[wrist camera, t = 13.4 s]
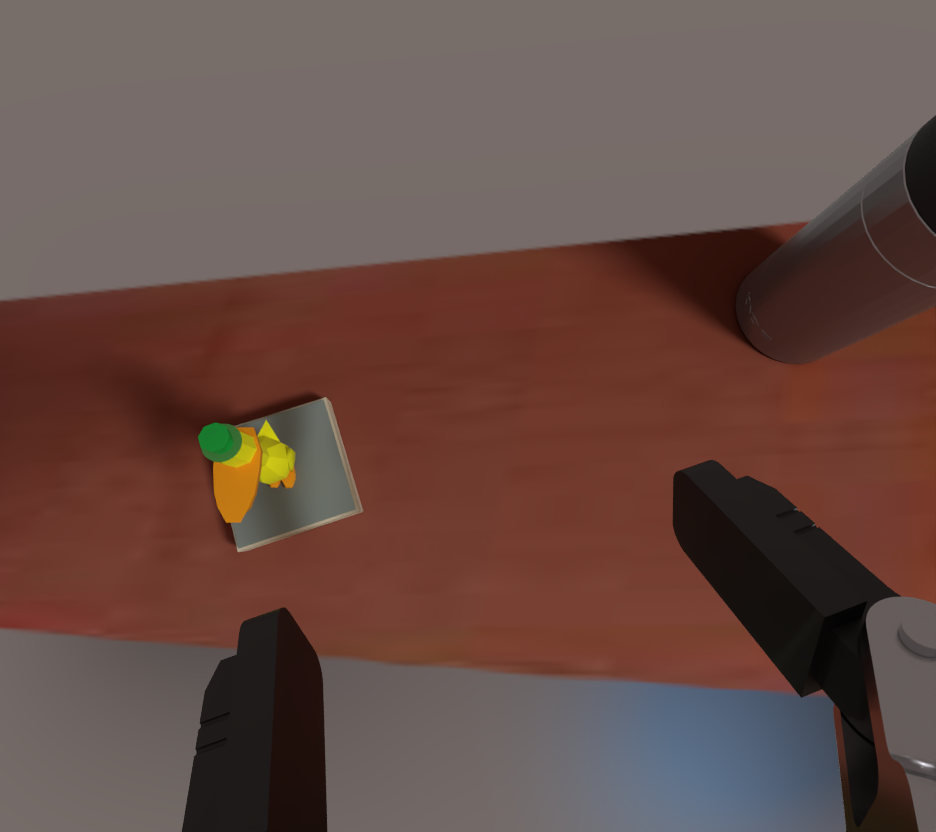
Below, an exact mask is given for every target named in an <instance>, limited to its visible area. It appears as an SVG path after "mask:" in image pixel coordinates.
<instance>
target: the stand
mask: <svg viewBox="0 0 936 832" xmlns="http://www.w3.org/2000/svg"><path fill="white" fill-rule="evenodd" d="M266 420H267V422H268V423H269V425H270V427H271V428H272V430H273V431H274V433H275V435H276V436H277V438H278V439H279V441H280V442H281V443H283V444H285V445H287V446H289V448H291V449H292V450H293V451H294V452H295V463H294V468H295V473H296V480H295V483H294V485H293V487H292V488H285V486H284V483H283V482H282V480H281V482H280V484H279V486H278V488H270V485H269V484H266V483H262V482H260V481H259V485H258V490H257V494H256V497H255V499H254V502H253V505H252V507H251V509H250V510H249V511H248V512H247V513H246V514H245V515H244V517H243V519H242V521H241V522H240V523H231V526H232V530H233V534H234V538H235V542H236V546H237V550H238V552H242V551H248V550H251V549H254V548H257V547H260V546H263V545H266V544H269V543H272V542H275V541H278V540H281V539H284V538H287V537H289V536H292V535H295V534H298V533H301V532H304V531H307V530H310V529H313V528H316V527H319V526H322V525H325V524H328V523H331V522H334V521H337V520H340V519H343V518H346V517H349V516H352V515H355V514H358V513H361V512H363V509H362V506H361V502H360V499H359V496H358V492H357V489H356V486H355V482H354V479H353V475H352V472H351V469H350V465H349V462H348V459H347V455H346V452H345V448H344V445H343V442H342V438H341V435H340V432H339V428H338V425H337V421H336V418H335V415H334V411H333V408H332V405H331V402H330V401H329V400H328V399H327V398H326V397H325V398H322V399H319V400H316V401H312V402H309V403H306V404H303V405H300V406H297V407H293V408H290V409H287V410H284V411H281V412H277V413H274V414H271V415H268V416H265V417H261V418H258V419H255V420H252V421H249V422H245V423H242V424H239V425H236V426H234V427H254V428H255V431H256V434H257V436H258V434H259V432H260V430H261V429H262V427H263V425H264V423H265V421H266Z"/></svg>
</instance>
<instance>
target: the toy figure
mask: <svg viewBox="0 0 936 832" xmlns="http://www.w3.org/2000/svg"><path fill="white" fill-rule="evenodd" d="M198 439H199V443H200V446H201V449H202V452H203V454H204V455H205V456H206V458H208V459H209V460H211V461H214V465H213V478H214V494H215V498H216V502H217V506H218V509H219V511H220V512H221V514H222V516H223V518H224V520H225V521H226V523H240V522H241V521H242V519H243V517H244V515H245V514H246V513H247V512H248V511H249V510H250V509H251V507H252V505H253V502H254V499H255V497H256V494H257V490H258V485H259V481H260V482H262V483H266V484H269V485H270V488H278V486H279V484H280V482H281V480H282V482H283V483H284V486H285V488H292V487H293V485H294V483H295V480H296V473H295V468H294V463H295V452H294V451H293V450H292V449H291V448H289V446H287V445H285V444H283V443H281V442H280V441H279V439H278V438H277V436H276V435H275V433H274V431H273V430H272V428H271V427H270V425H269V423H268V422H267V420H266V421H265V423H264V425H263V427H262V429H261V430H260V432H259V434H258V436H257V434H256V431H255V428H254V427H234V426H233V425H230V424H219V423H216V422H215V423H213V424H210V425H207V426H205V427H204V428H203V429H202V431H201V433H200V435H199V436H198Z"/></svg>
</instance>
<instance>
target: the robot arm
mask: <svg viewBox="0 0 936 832" xmlns="http://www.w3.org/2000/svg"><path fill="white" fill-rule="evenodd" d="M935 306H936V116H934V117H933V118H932V119H931V120H930V121H928V122H927V123H926V124H925V125H924V126H923V127H922V128H920V129H919V130H918V131H917V132H915V133H914V134H913V135H912V136H911V137H910V138H908V139H907V140H906V141H905V142H904V143H902V144H901V145H900V146H899V147H898V148H897V149H896V150H894V151H893V152H892V153H891V154H889V156H887V157H886V158H885V159H884V160H882V161H881V162H880V163H879V164H878V165H877V166H876V167H875V168H873V169H872V170H871V171H870V172H869V173H867V174H866V175H865V176H864V177H863V178H862V179H860V180H859V181H858V182H857V183H856V184H855V185H853V186H852V187H851V188H850V189H849V190H847V191H846V192H845V193H844V194H843V195H841V196H840V197H839V198H838V199H837V200H836V201H834V202H833V203H832V204H831V205H830V206H829V207H827V208H826V209H825V210H824V211H823V212H822V213H820V214H819V215H818V216H817V217H816V218H814V219H813V220H812V221H811V222H810V223H808V224H807V225H806V226H805V227H804V228H802V229H801V230H800V231H799V232H798V233H797V234H795V235H794V236H793V237H792V238H791V239H789V240H788V241H787V242H786V243H785V244H784V245H782V246H781V247H780V248H779V249H777V250H776V251H775V252H774V253H773V254H772V255H770V256H769V257H768V258H767V259H766V260H764V261H763V262H762V263H761V264H760V265H759V266H757V267H756V268H755V269H754V270H753V271H752V272H751V273H750V274H748V275H747V276H746V277H745V279H744V280H743V282H742V283H741V285H740V287H739V290H738V293H737V296H736V315H737V319H738V322H739V325H740V328H741V329H742V331H743V333H744V334H745V336H746V338H747V339H748V340H749V341H750V342H751V343H752V345H753V346H754V347H755V348H757V349H758V350H759V351H761V352H762V353H763V354H765V355H767V356H769V357H770V358H772V359H774V360H778V361H781V362H784V363H792V364H802V363H809V362H812V361H815V360H818V359H820V358H823V357H825V356H827V355H829V354H831V353H834V352H836V351H838V350H840V349H842V348H845V347H847V346H849V345H851V344H854V343H856V342H858V341H860V340H863V339H865V338H867V337H869V336H871V335H874V334H876V333H878V332H880V331H882V330H884V329H887V328H889V327H891V326H893V325H895V324H898V323H900V322H902V321H904V320H906V319H909V318H911V317H913V316H915V315H917V314H919V313H922V312H924V311H926V310H928V309H930V308H933V307H935ZM673 528H674V532H675V535H676V537H677V540H678V542H679V544H680V546H681V547H682V549H683V551H684V552H685V553H686V555H687V556H688V557H689V558H690V560H691V561H692V562H693V563H694V565H695V566H696V567H697V568H698V570H699V571H700V572H701V573H702V574H703V576H704V577H705V578H706V579H707V581H708V582H709V583H710V584H711V586H712V587H713V588H714V589H715V591H716V592H717V593H718V594H719V596H720V597H721V598H722V599H723V601H724V602H725V603H726V604H727V606H728V607H729V608H730V609H731V611H732V612H733V613H734V614H735V616H736V617H737V618H738V619H739V621H740V622H741V623H742V624H743V626H744V627H745V628H746V629H747V631H748V632H749V633H750V634H751V636H752V637H753V638H754V639H755V641H756V642H757V643H758V644H759V646H760V647H761V648H762V649H763V651H764V652H765V653H766V654H767V656H768V657H769V658H770V659H771V661H772V662H773V663H774V664H775V666H776V667H777V668H778V669H779V671H780V672H781V673H782V674H783V675H784V677H785V678H786V679H787V680H788V682H789V683H790V684H791V685H792V687H793V688H794V689H795V690H796V692H797V693H798V694H799V695H800V697H801V698H802V697H804V696H807V695H809V694H812V693H814V692H817V691H819V690H821V689H823V691H824V692H825V693H826V694H827V695H828V697H829V698H830V699H831V700H832V701H833V702H834V722H835V731H836V741H837V750H838V759H839V767H840V778H841V787H842V796H843V804H844V813H845V824H846V832H936V604H934V603H931V602H928V601H925V600H921V599H917V598H911V597H901V596H900V595H898V594H897V593H895V592H894V591H893V590H891V589H890V588H889V587H887V586H886V585H885V584H884V583H883V582H882V581H881V580H879V579H878V578H877V577H876V576H875V575H874V574H872V573H871V572H870V571H869V570H868V569H867V568H866V567H864V566H863V565H862V564H861V563H860V562H859V561H858V560H856V559H855V558H854V557H853V556H852V555H851V554H850V553H848V552H847V551H846V550H845V549H844V548H843V547H842V546H840V545H839V544H838V543H837V542H836V541H835V540H833V539H832V538H831V537H830V536H829V535H828V534H827V533H825V532H824V531H823V530H822V529H821V528H820V527H819V528H817V527H816V526H815V523H814V522H813V521H812V520H811V519H809V518H808V517H807V516H806V515H805V514H804V513H803V512H799V511H798V510H797V507H796V506H794V505H793V504H792V503H791V502H790V501H789V500H788V499H786V498H785V497H784V496H783V495H782V494H781V493H780V492H778V491H777V490H776V489H775V488H773V487H770V486H768V485H766V484H764V483H762V482H760V481H758V480H755V479H753V478H751V477H749V476H745V477H742V478H739V479H736V478H735V477H734V476H733V475H732V474H731V473H729V472H728V471H727V470H726V469H725V468H724V467H723V466H722V465H721V464H719V463H718V462H716V461H714V460H709V461H706V462H703V463H700V464H697V465H694V466H692V467H689V468H686V469H683V470H680V471H677V472H676V473H675V474H674V480H673ZM200 724H201V728H200V729H199V731H198V737H197V743H196V751H197V754H196V755H195V756H194V761H193V767H192V773H191V779H190V786H189V792H188V798H187V804H186V810H185V816H184V823H183V828H182V832H327V809H326V808H327V805H326V774H325V773H326V772H325V771H326V770H325V738H324V737H325V736H324V703H323V679H322V672H321V667H320V663H319V660H318V657H317V654H316V652H315V650H314V649H313V647H312V646H311V644H310V643H309V641H308V639H307V638H306V636H305V635H304V633H303V632H302V630H301V629H300V627H299V626H298V624H297V623H296V621H295V620H294V618H293V617H292V615H291V614H290V612H289V611H288V610H287V609H286V608H280V609H277V610H274V611H271V612H268V613H266V614H263V615H260V616H257V617H254V618H251V619H248V620H246V621H244V622H243V623H242V625H241V627H240V632H239V640H238V648H237V655H235V656H232V657H229V658H227V659H224V660H221V661H220V663H219V665H218V667H217V669H216V671H215V673H214V675H213V677H212V679H211V681H210V682H209V685H208V687H207V688H206V690H205V694H204V700H203V706H202V712H201V718H200Z"/></svg>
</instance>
